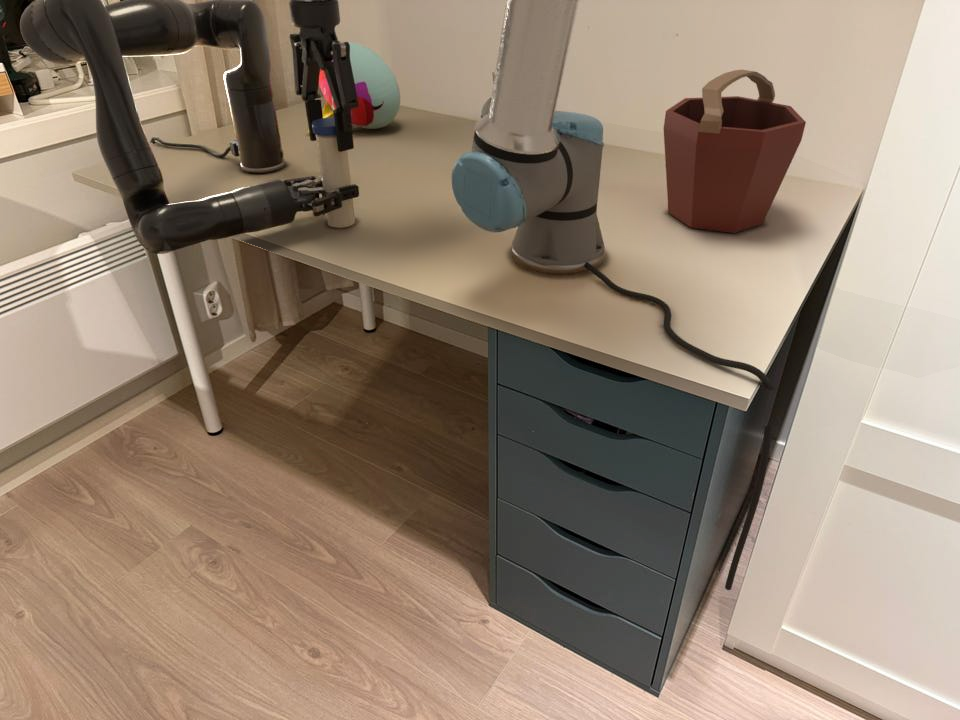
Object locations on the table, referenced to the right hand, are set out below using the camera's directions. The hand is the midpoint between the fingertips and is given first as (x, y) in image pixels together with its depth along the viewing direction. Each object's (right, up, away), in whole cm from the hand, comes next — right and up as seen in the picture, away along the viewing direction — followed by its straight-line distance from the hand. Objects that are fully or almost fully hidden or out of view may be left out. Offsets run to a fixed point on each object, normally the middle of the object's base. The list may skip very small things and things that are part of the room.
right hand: (331, 144), depth 122 cm
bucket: (+69, -10, +10) cm, 71 cm away
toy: (-6, +22, +58) cm, 62 cm away
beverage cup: (+30, +3, +30) cm, 42 cm away
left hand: (+2, -6, +6) cm, 8 cm away
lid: (0, +3, -2) cm, 3 cm away
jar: (0, -12, +8) cm, 14 cm away
